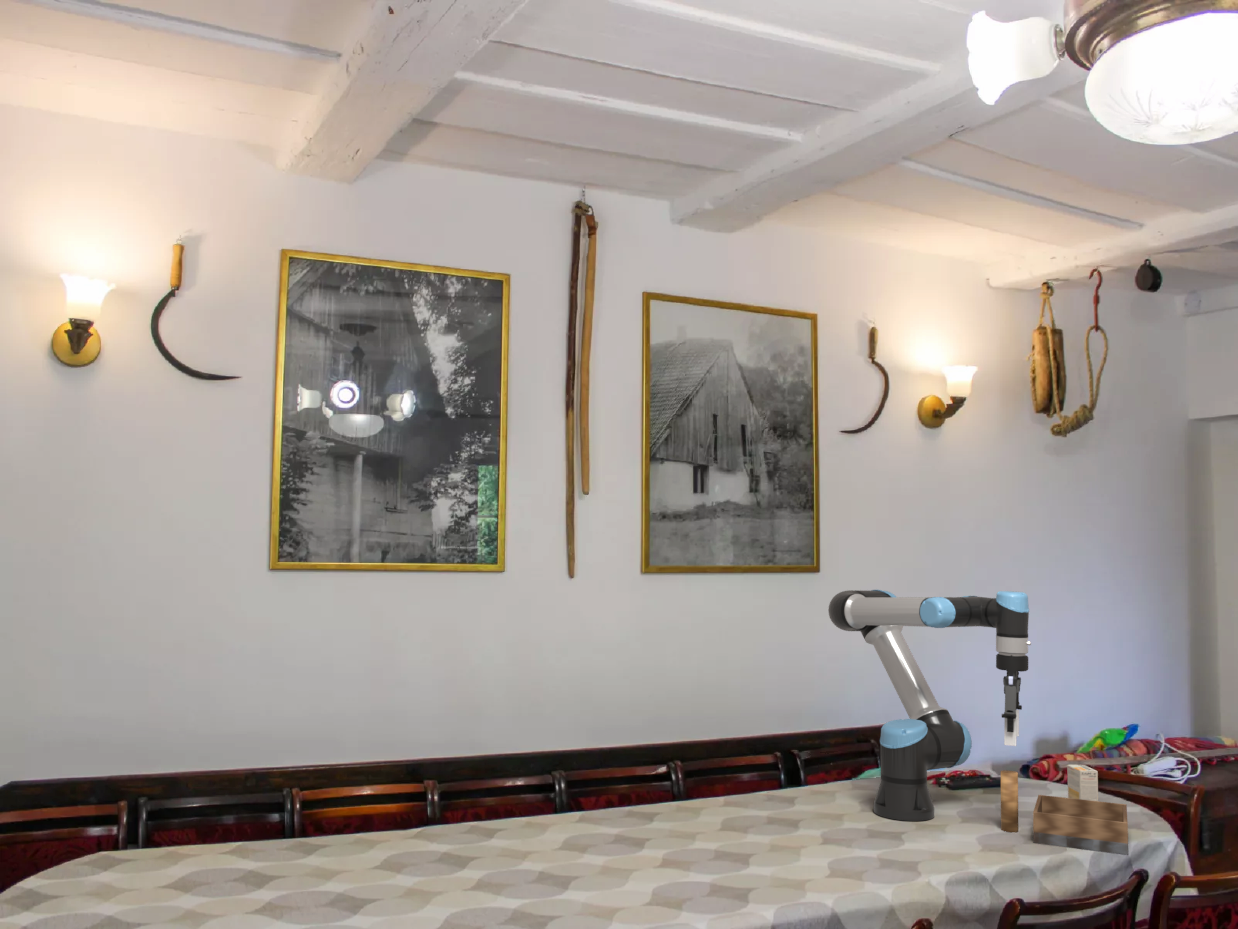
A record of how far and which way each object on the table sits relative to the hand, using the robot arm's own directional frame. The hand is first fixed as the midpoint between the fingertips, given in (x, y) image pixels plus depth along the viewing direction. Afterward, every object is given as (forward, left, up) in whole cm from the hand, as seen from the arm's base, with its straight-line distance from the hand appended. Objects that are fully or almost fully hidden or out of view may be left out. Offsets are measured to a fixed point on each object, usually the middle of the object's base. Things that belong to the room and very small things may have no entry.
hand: (1011, 740), depth 257 cm
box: (+15, 0, -22) cm, 26 cm away
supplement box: (+15, +20, -22) cm, 33 cm away
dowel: (-1, -1, -22) cm, 22 cm away
